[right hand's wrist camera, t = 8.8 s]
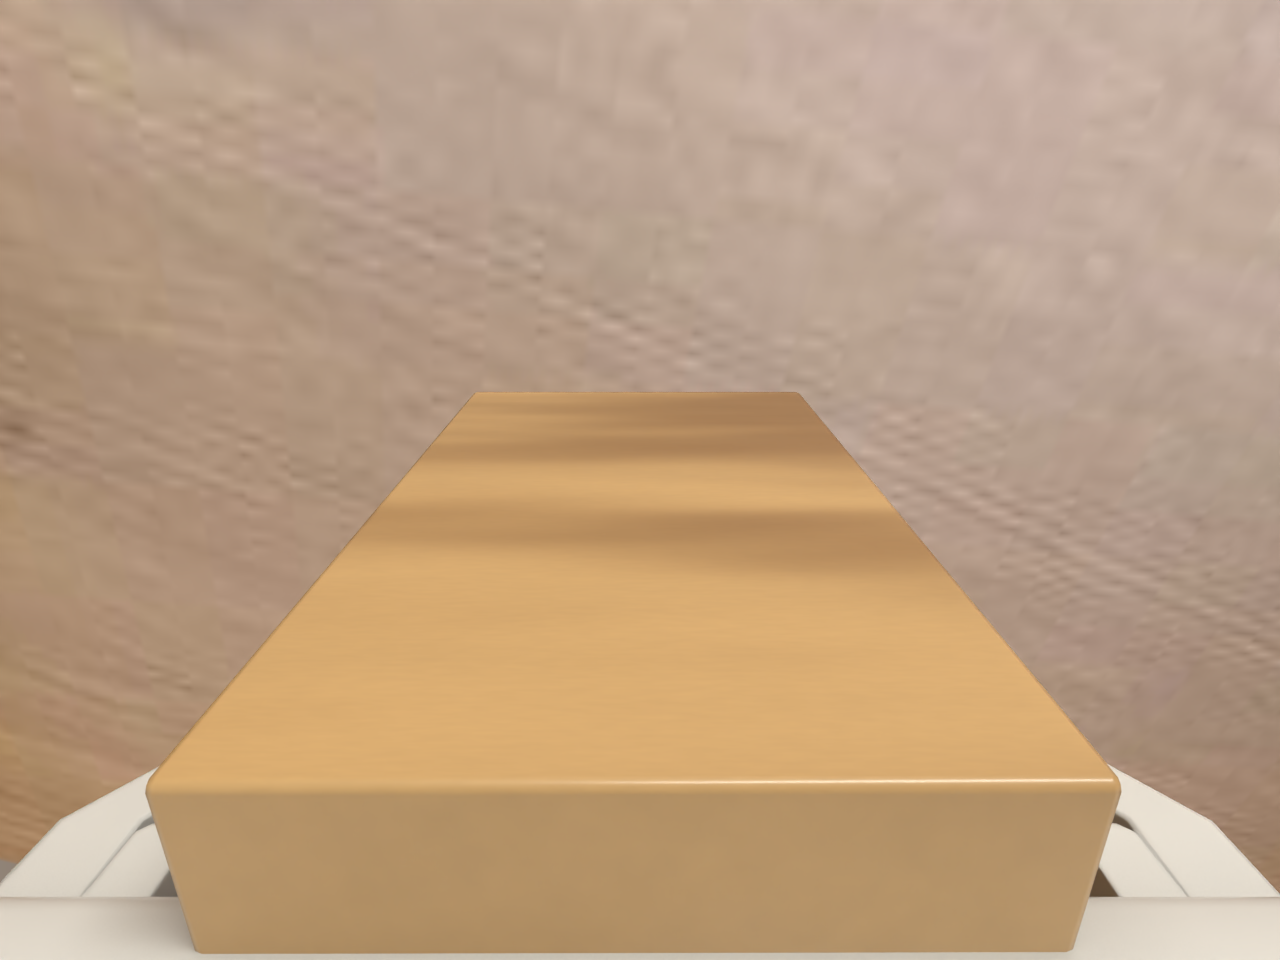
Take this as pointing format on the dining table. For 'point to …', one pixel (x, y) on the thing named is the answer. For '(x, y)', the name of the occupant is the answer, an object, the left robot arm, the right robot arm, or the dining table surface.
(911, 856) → the box
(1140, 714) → the dining table surface
